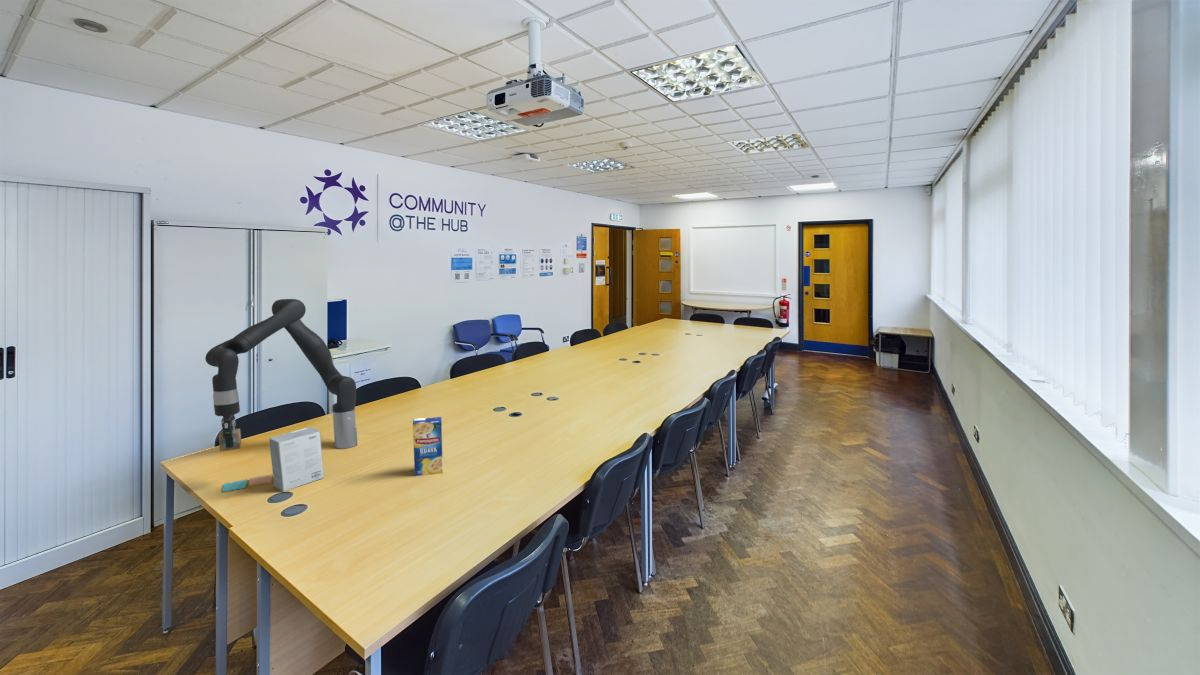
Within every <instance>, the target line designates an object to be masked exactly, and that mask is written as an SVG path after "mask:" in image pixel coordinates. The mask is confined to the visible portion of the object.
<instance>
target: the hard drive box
mask: <svg viewBox="0 0 1200 675" xmlns="http://www.w3.org/2000/svg"><path fill="white" fill-rule="evenodd" d="M321 439H322V438H321V431H320V430H319V429H317V428H314V427H312V426H309V427H305V428H302V429H297V430H293V431H290V432H286V433H284V434H283V433H282V434H279V435H275V436H272V437H269V438H268V440H269V441H268V442H269V451H270V460H271V468H272V469H271V470H272V477H273V485H274V488H275V489H277V490H278V491H281V492H287V491H289V490H293V489H296V488H298V487H300V486H303V485H306V484H307V485H308V484H310V483H313V482H315V481H318V480H320V479H321V480H322V479H324V477H325V474H324V463H323V462H324V461H323V450H322V442H321V441H322V440H321Z"/></svg>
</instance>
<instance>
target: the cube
mask: <svg viewBox="0 0 1200 675" xmlns="http://www.w3.org/2000/svg"><path fill="white" fill-rule="evenodd" d="M241 433H242V432H241V428H235V429H234V431H233V447H230V448H226V443H225V438H224V437H223V431H222V430H220V431H219V434H218V442H219V443H218V445H219V452H225V451H234V450H239V449H241V447H242V443H243V442H242V435H241ZM228 434H230V432H226V435H228Z"/></svg>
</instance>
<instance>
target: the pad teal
mask: <svg viewBox="0 0 1200 675" xmlns="http://www.w3.org/2000/svg"><path fill="white" fill-rule="evenodd" d="M247 482H248V480H247V479H244V480H243V479H242V480H237V481H232V482H226V483H224V485H223V488H222V489H221V490H222V491H221V492H222V493H226V492H225V491H228V492H233V491H238V490H237V489H239V490H243V488H244V489H246V488H247ZM232 490H233V491H232Z"/></svg>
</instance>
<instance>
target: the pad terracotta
mask: <svg viewBox="0 0 1200 675" xmlns="http://www.w3.org/2000/svg"><path fill="white" fill-rule="evenodd" d="M271 483H272V474H266V475H262V476H260V475H259V476H254V477H249V482H248V487H253V486H259V485H260V484H261V485H265V484H271Z"/></svg>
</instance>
